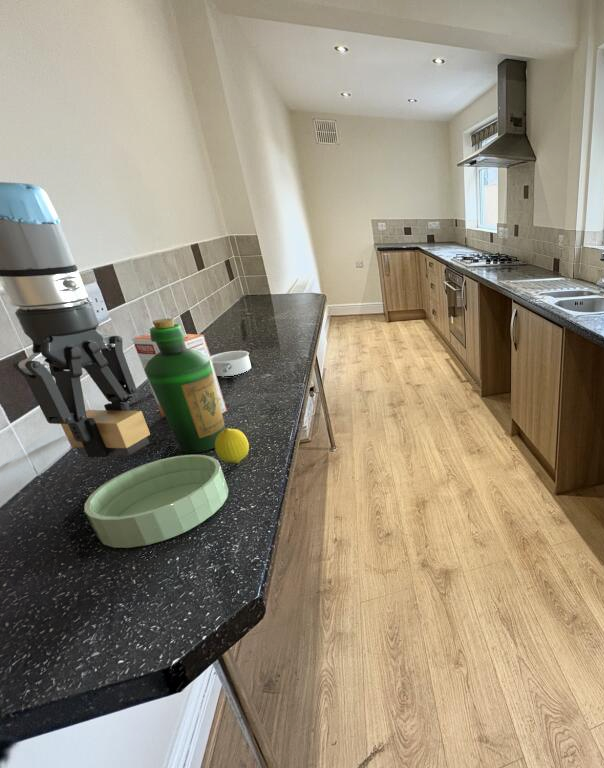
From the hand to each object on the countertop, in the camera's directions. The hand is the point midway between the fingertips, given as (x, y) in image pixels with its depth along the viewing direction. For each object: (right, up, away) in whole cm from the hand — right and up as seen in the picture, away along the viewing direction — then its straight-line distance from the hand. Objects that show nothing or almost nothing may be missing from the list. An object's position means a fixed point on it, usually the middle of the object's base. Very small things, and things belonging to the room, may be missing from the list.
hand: (114, 447), depth 66 cm
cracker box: (-16, +2, +38) cm, 41 cm away
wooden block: (0, 0, 0) cm, 0 cm away
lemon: (+8, -6, +17) cm, 20 cm away
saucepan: (-23, +12, +62) cm, 67 cm away
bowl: (+6, -12, +4) cm, 14 cm away
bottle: (-3, -3, +24) cm, 25 cm away
